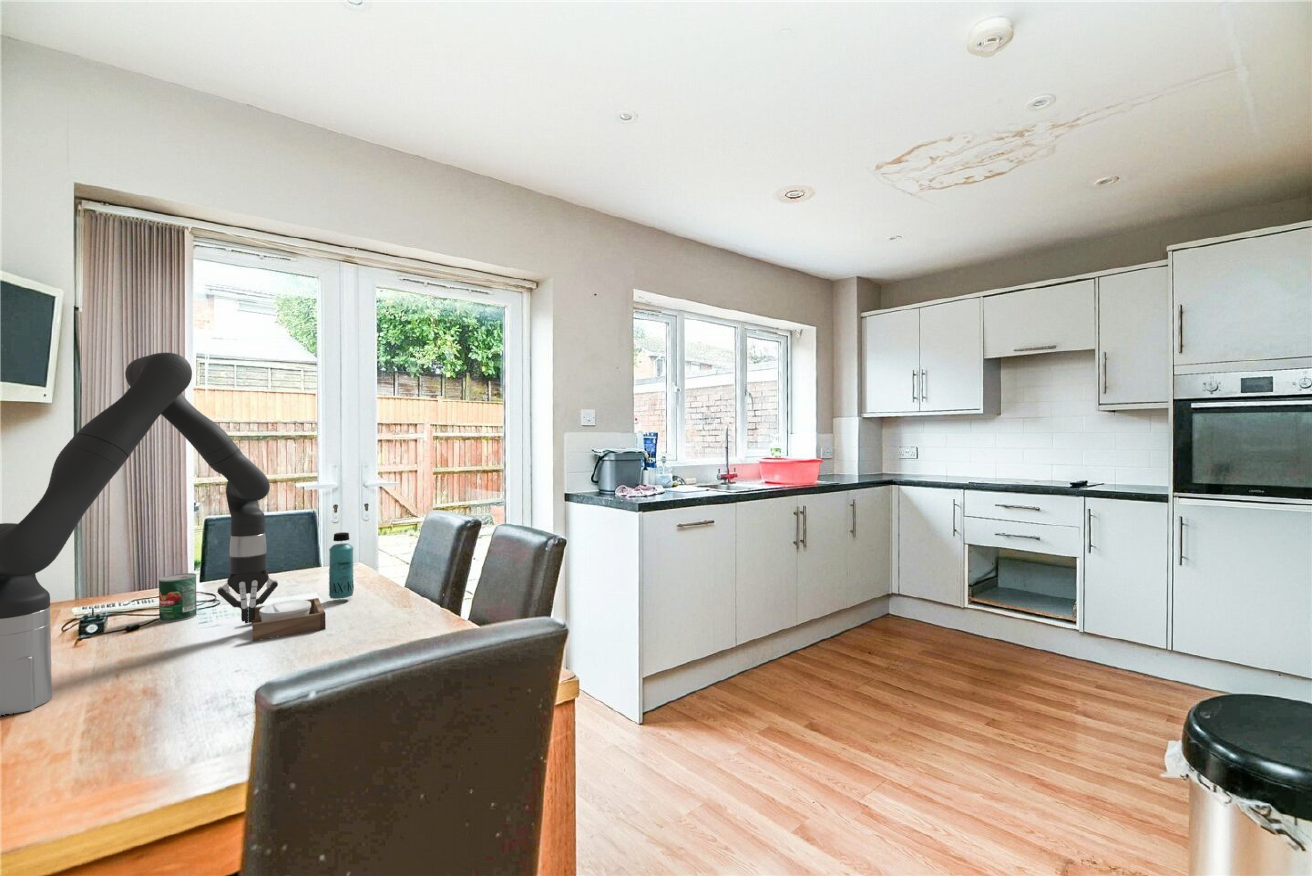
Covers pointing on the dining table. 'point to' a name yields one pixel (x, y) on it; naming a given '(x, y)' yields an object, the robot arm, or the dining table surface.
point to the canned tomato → (177, 597)
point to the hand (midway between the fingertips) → (248, 622)
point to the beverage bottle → (341, 568)
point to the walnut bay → (289, 623)
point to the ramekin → (285, 610)
